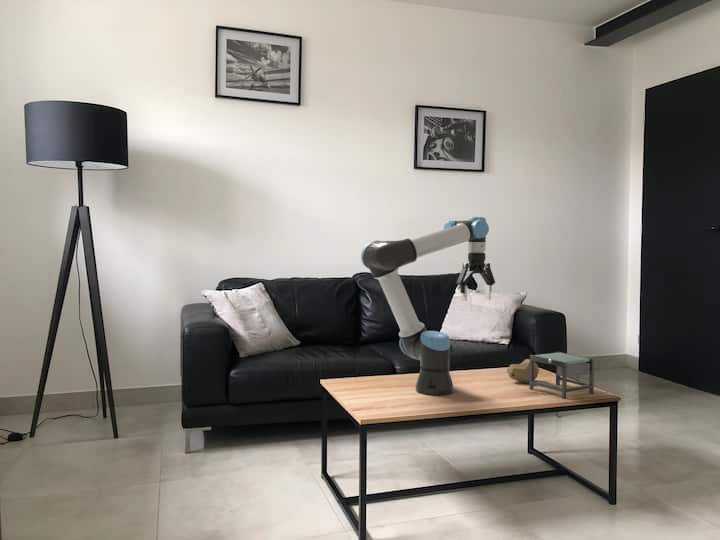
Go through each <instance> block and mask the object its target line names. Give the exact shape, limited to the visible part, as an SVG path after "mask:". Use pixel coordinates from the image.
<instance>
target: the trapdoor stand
mask: <svg viewBox="0 0 720 540" xmlns="http://www.w3.org/2000/svg"><path fill="white" fill-rule="evenodd" d="M556 353H563V354H568V355H573V356H578V357H583V358H588V359H590V361H588V362H587V364H589V372H588V373H589V377H588V379H589V380H588V382H583V381H580V380H576V379H571V378H568V376H567V362H562V361H558V360H553V359H548V358H544V357H539V356H534V354H529V360H530V372H529V383H528V385H529V386H528V387H529V388H528V389H529V390H534V388H535V387H534V386H539V387H541V388H546V389H549V390H553V391H557V392H561V399H562V400H563V399H564V400H565V399H567V393H571V392H576V391H582V390H588V393H595V392H594V389H595V386H594V385H595V358H591V357H587V356H582V354H580V355H576V354H573V353H572V354H571V353H566V352H561V351H556ZM534 361H535V362H536V363H542V364H546V365H550V366H555V367H556V368H555V385H556V386H555V385H551V384H549V383H548V384H547V383H544V382H540V381H536V380H534ZM557 366H558V367H562V376H559V375H557ZM567 383H570V384H573V385H578V386H571V387H567V386H568V385H567ZM560 385H561V387H559V386H560Z"/></svg>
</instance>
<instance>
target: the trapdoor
mask: <svg viewBox="0 0 720 540" xmlns="http://www.w3.org/2000/svg"><path fill="white" fill-rule="evenodd" d="M563 353H564V352H562V353H557V352H551V353H541V354H535V355H534V354H533V355H534V356H539V357H544V358H548V359H553V360H558V361H562V362H567V377H572V376H578V375H585V374H588V373H587V371H588V370H587V369H588V363H587V362H588V361H590V359H588V358H589V357H587V358H583V357H584V356H582V357H578V356H579V355H577V356H573V355H574V354H572V355H568V354H569V353H567V354H563ZM557 375H559V376H560V377H562V367H558V366H557Z"/></svg>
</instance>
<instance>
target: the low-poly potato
mask: <svg viewBox="0 0 720 540" xmlns="http://www.w3.org/2000/svg"><path fill="white" fill-rule="evenodd" d="M506 371H507V375H508V377H509V378H510V379H512V380H514V381H517V382H519V383H521V384H529V372H530V358H528V359H527V358H525V359H524V360H523V361H522V362H521V363H511V364H510V365H509V366H508V367H507V369H506ZM539 373H540V369H539V365H538V364H537V362H536V361H534V381H536V379H537V378H538V375H539Z"/></svg>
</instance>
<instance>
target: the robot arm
mask: <svg viewBox="0 0 720 540" xmlns="http://www.w3.org/2000/svg"><path fill="white" fill-rule="evenodd" d="M489 231H490V226H489V224H488V223H487V221H486V218H485V217H484V216H471V217H469V218H468V220H448V221H446V222H445V223H444V226H443V229H441V230H439V231H434V232H432V233H428V234H425V235H423V236H419V237H416V238H414V239H412V238H404V239H401V240H399V239H398V240H374V241H370V242H368V243H366V245H364V246H363V248H362V251H361V254H360V255H361V256H360V258H361V263H362V264H363V265H364V267H366V268H367V269H368V270H369V271H370V273H371V275H372V278H373V279H375V280H378V282H379V285H380V287H381V288H382V291H383V294H384V295H385V296H384V297H385V298H386V301H387V303H388V304H389V307H390V309H391V312H392V315H393V316H394V318H395V321H396V323H397V324H398V328H399V330H400V331H399V332H398V336H399V348H400V350H401V352H403V354H404V355H406V356H407V357H408V358H411V359H414V360H418V361H419V362H420V365H419V367H420V368H419V369H420V370H419V374H418V377H417V380H416V383H415V391H416V392H418V393H420V394H423V395H431V396H445V395H450V394H453V393H454V384H453V381H452V376H451V374H450V358H451V357H450V353H451V352H450V351H451V349H450V348H451V343H450V336H449V335H448V334H447V333H444V332H441V331H436V330H427V328H426V325H425V324H424V323H423V322H421V321H420V320H419V319H418V316H417V314H416V312H415V309H414V307H413V305H412V303H411V299H410V297H409V295H408V293H407V291H406V288H405V286H404V283H403V282H402V279H401V277H400V274H399V272H398V271H399V269H400V268H401V267H403V266H407V265H409V264H412V263H415V262H416V261H417V260H418V259H419V258H421V257H424V256H426V255H430V254H433V253H436V252H439V251H443V250H445V249H447V248H450V247H453V246H457V245H460V244H463V243H465V242H468V243H467V244H468V245H467V247H468V248H467V251H468V253H467V261H468V262H467V263H466V262H464V263H462V268H461V271H460V274H459V276H458V278H457V281H456V284H457V285H459V286H460V291H459V292H460V294H461V296H460V298H461V301H463V302H467V301H468V285H467V283H468V282H469V281H470V279H471V278H472V276H473V275H474V274H479V275H480V276H481V277H482V279H483V280H484V282H485V285H484V300H487V301H490V300H491V293H492V287H493V286H494V285H495V284H496V280H495V277H494V275H493V271H492V268H491V263H489V262H486V248H487V247H486V242H487V241H486V239H487V238H486V237H487V235H488V234H489ZM466 285H467V286H466Z"/></svg>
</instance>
